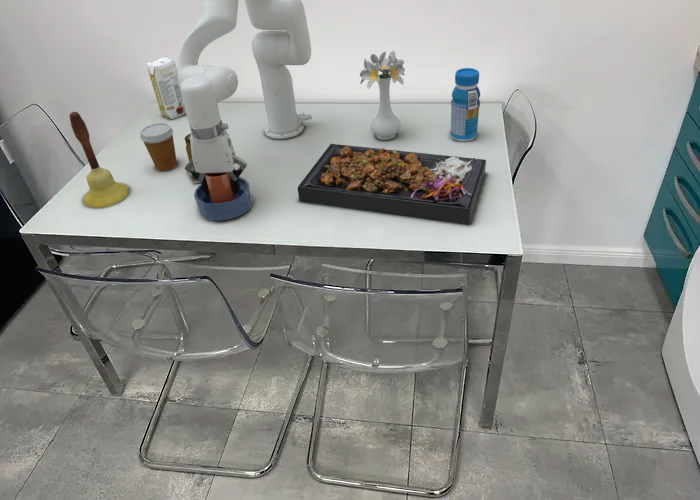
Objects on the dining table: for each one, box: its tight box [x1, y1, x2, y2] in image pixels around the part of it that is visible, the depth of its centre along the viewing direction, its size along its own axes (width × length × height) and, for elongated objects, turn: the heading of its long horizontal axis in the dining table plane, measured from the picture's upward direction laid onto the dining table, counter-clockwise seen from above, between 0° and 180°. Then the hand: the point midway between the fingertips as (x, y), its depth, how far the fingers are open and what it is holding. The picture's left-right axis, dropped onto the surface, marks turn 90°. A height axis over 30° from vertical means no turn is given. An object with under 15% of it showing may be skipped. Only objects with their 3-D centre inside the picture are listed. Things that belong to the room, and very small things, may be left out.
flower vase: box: [359, 50, 406, 141], centre depth 169 cm, size 13×18×25 cm
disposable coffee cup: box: [139, 122, 178, 172], centre depth 167 cm, size 10×10×12 cm
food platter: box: [297, 143, 487, 225], centre depth 149 cm, size 45×25×10 cm, turn 71°
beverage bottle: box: [449, 67, 481, 142], centre depth 166 cm, size 8×8×20 cm
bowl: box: [193, 176, 253, 222], centre depth 149 cm, size 14×14×6 cm
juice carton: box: [146, 56, 187, 120], centre depth 195 cm, size 8×9×19 cm
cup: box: [204, 172, 237, 204], centre depth 146 cm, size 7×7×9 cm
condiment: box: [184, 132, 201, 184], centre depth 161 cm, size 7×8×12 cm
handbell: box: [69, 111, 130, 209], centre depth 152 cm, size 12×12×25 cm
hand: (222, 191), depth 147 cm, fingers closed on cup, 6 cm apart
